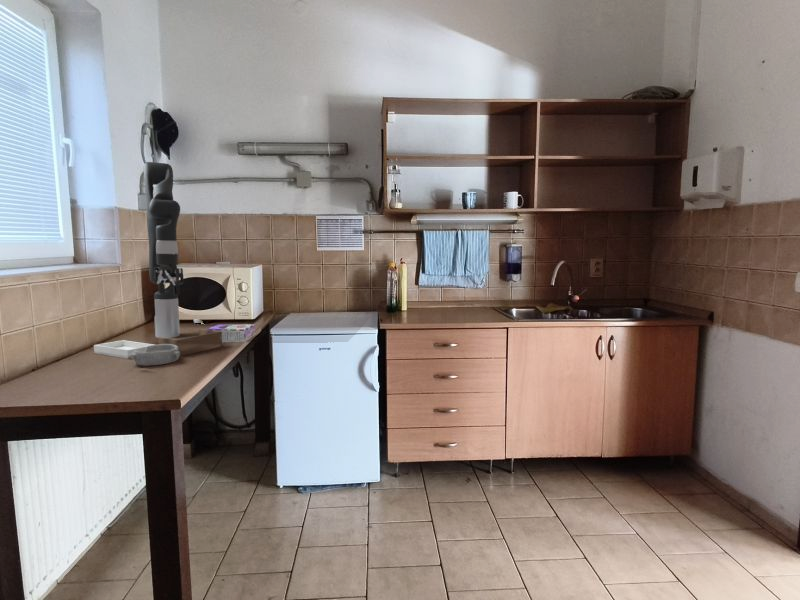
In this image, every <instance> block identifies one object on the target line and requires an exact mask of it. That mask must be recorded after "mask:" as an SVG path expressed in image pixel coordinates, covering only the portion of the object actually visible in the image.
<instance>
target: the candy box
mask: <svg viewBox="0 0 800 600" xmlns="http://www.w3.org/2000/svg"><path fill="white" fill-rule="evenodd" d="M205 330H212V331H221V332H222V343H247V342H248V341H249V340H250V339H253V337H255V336H256V324H255V323H254V324H251V323H249V324H247V323H246V324H245V323H243V324H225V323H224V324H223V323H222V324H220V323H219V324H215V325H213V326H211V327H209V328H206V329H205Z"/></svg>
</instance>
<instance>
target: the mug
mask: <svg viewBox="0 0 800 600" xmlns="http://www.w3.org/2000/svg"><path fill="white" fill-rule="evenodd" d="M193 323H194V324H195V323H201V324H200V325H202V324H204V323H203V321H202V320H200V319H194V318H193ZM204 325H205V324H204Z"/></svg>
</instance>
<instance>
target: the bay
mask: <svg viewBox="0 0 800 600" xmlns="http://www.w3.org/2000/svg"><path fill="white" fill-rule="evenodd" d="M198 331H199V335H194V336H188V337H183V338H163V337H155V343H156V344H155V345H159V344H173V345H176V346H178V347H179V352H180V356H179V357H182V356H185V355H186V356H187V355H190V354H194V353H199V352H203V351H208V350H212V349H217V348H221V347H223V342H222V332H221V331H212V330H206V329H202V328H201V329H199V330H198Z"/></svg>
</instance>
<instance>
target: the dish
mask: <svg viewBox="0 0 800 600" xmlns="http://www.w3.org/2000/svg"><path fill="white" fill-rule="evenodd" d="M180 357H181V356H180V352H179V347H178V346H176V345H173V344H159V345H156V344H154V345H151V346H147V348H146V349H145V351H144V352H138V351H136V350H135V351H134V353H132V354H131V358H130V359H131V360H132V361H134V362H135V365H137V366H145V367H147V366H148V367H149V366H159V365H161V366H162V365H165V364H171V363H174V362H176V361H178V360H179V358H180Z"/></svg>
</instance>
